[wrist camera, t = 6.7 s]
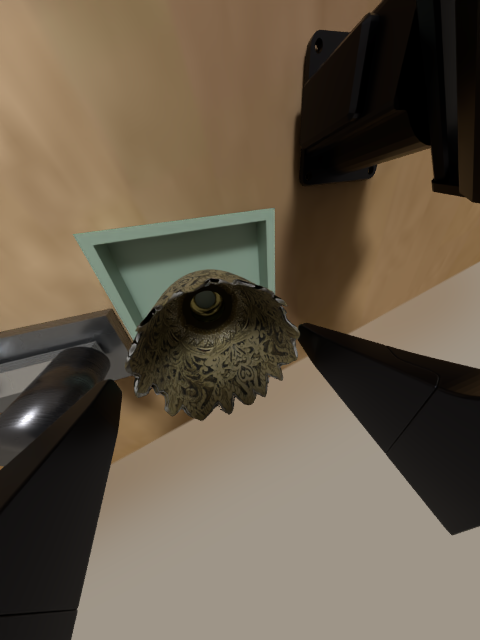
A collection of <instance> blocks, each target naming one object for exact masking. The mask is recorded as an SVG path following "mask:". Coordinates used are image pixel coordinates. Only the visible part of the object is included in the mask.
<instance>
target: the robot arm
mask: <svg viewBox="0 0 480 640" xmlns="http://www.w3.org/2000/svg"><path fill="white" fill-rule="evenodd" d="M315 45H317V48H318V53H316V51H315ZM300 146H301V158H300V176H299V179H300V183H301V185H302V186H311V185H321V184H330V183H339V182H348V181H358V180H365V179H369V178H371V177H372V176H373V175H374V174H375V171H376V168H377V164H380V163H383V162H386V161H390V160H393V159H396V158H400V157H403V156H406V155H409V154H413V153H416V152H419V151H422V150H426V149H429V148H431V156H432V165H433V175H434V179H433V180H432V191H433V192H438V193H444V194H449V195H455V196H460V197H466V198H467V199H469V200H470V201H472V202H475V203H480V0H382V1H381V3H380V4H379V5H378V6H377V7H376V8H375V9H374V10H373V12H372V13H368V14H366V15H365V16H364V17H363V18H362V20H361V21H360V22H359V23H358V24H357V25H356V26H355V28H354V29H353V30H352V31H351V32H350V33H349V32H338V31H327V30H318V31H316V32H315V34H314V35H313V36H312V38H311V39H310V41H309V43H308V45H307V51H306V67H305V85H304V88H303V98H302V117H301V136H300ZM368 170H369V172H368ZM306 174H308V180H306ZM298 330H299V332H300V336H299V338H298V341H299V343H300V344H301V346H302V347H303V349H304V350H305V352H306V353H307V355H308V357H309V358H310V360H311V361H312V363H313V364H314V365H315V367H316V368H317V369H318V370H319V372H320V373H321V374H322V375H323V377H324V378H325V379H326V380H327V382H328V383H329V384H330V385H331V386H332V388H333V389H334V390H335V392H336V393H337V394H338V395H339V397H340V398H341V399H342V400H343V402H344V403H345V404H346V405H347V407H348V408H349V409H350V410H351V411H352V413H353V414H354V415H355V416H356V418H357V419H358V420H359V421H360V423H361V424H362V425H363V426H364V428H365V429H366V430H367V431H368V433H369V434H370V435H371V436H372V438H373V439H374V440H375V441H376V442H377V444H378V445H379V446H380V448H381V449H382V450H383V451H384V452H385V453H386V455H387V456H388V458H389V459H390V460H391V461H392V462H393V464H394V465H395V466H396V468H397V469H398V470H399V471H400V473H401V474H402V475H403V476H404V477H405V479H406V480H407V481H408V483H409V484H410V485H411V486H412V488H413V489H414V490H415V491H416V492H417V494H418V495H419V496H420V497H421V499H422V500H423V501H424V502H425V504H426V505H427V506H428V507H429V509H430V510H431V511H432V512H433V514H434V515H435V516H436V517H437V519H438V520H439V521H440V522H441V524H442V525H443V526H444V527H445V528H446V530H447V531H448V532H449V533H450V534H451V535H455V534H458V533H461V532H464V531H467V530H470V529H473V528H476V527H479V526H480V369H477V368H473V367H469V366H464V365H461V364H456V363H452V362H448V361H444V360H439V359H435V358H431V357H427V356H423V355H419V354H415V353H411V352H408V351H404V350H400V349H396V348H393V347H390V346H385V345H383V344H379V343H375V342H372V341H369V340H365V339H362V338H358V337H355V336H351V335H348V334H344V333H341V332H337V331H334V330H330V329H327V328H323V327H320V326H316V325H313V324H309V323H303V324H300V325H299V326H298ZM121 402H122V391H121V389H120V388H119V387H118V386H117V384H116V383H115V382H114V380H112V379H107V380H103V381H100V382H99V383H97V384H96V385H95V386H94V387H93V388H92V389H91V390H89V391H88V392H87V393H86V394H85V395H84V396H83V397H82V398H81V399H79V400H78V401H77V402H76V403H75V404H74V405H73V406H72V407H70V408H69V409H68V410H67V411H66V412H65V413H64V414H63V415H62V416H60V417H59V418H58V419H57V420H56V421H55V422H54V423H53V424H51V425H50V426H49V427H48V428H47V429H46V430H45V431H44V432H42V433H41V434H40V435H39V436H38V437H37V438H36V439H35V440H34V441H32V442H31V443H30V444H29V445H28V446H27V447H26V448H25V449H23V450H22V451H21V452H20V453H19V454H18V455H17V456H16V457H14V458H13V459H12V460H11V461H10V462H9V463H8V464H7V465H6V466H4V467H3V468H2V469H1V470H0V640H71V637H72V633H73V629H74V624H75V620H76V616H77V608H78V606H79V601H80V597H81V593H82V588H83V584H84V579H85V575H86V570H87V566H88V562H89V557H90V553H91V549H92V544H93V540H94V535H95V531H96V527H97V522H98V517H99V513H100V509H101V504H102V500H103V495H104V491H105V487H106V482H107V478H108V473H109V469H110V465H111V460H112V456H113V452H114V447H115V443H116V438H117V434H118V428H119V420H120V411H121Z"/></svg>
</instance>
